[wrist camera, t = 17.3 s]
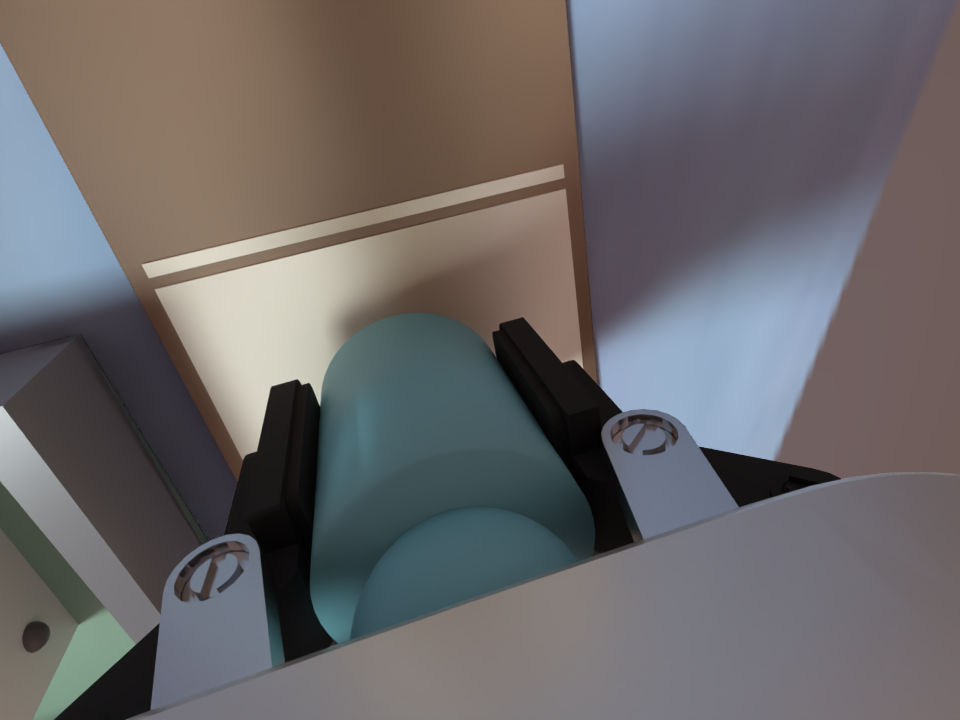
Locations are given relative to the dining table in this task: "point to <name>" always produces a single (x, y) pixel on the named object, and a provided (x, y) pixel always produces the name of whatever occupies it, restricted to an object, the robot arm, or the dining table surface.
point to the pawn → (431, 479)
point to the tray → (86, 507)
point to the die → (28, 635)
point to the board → (317, 174)
